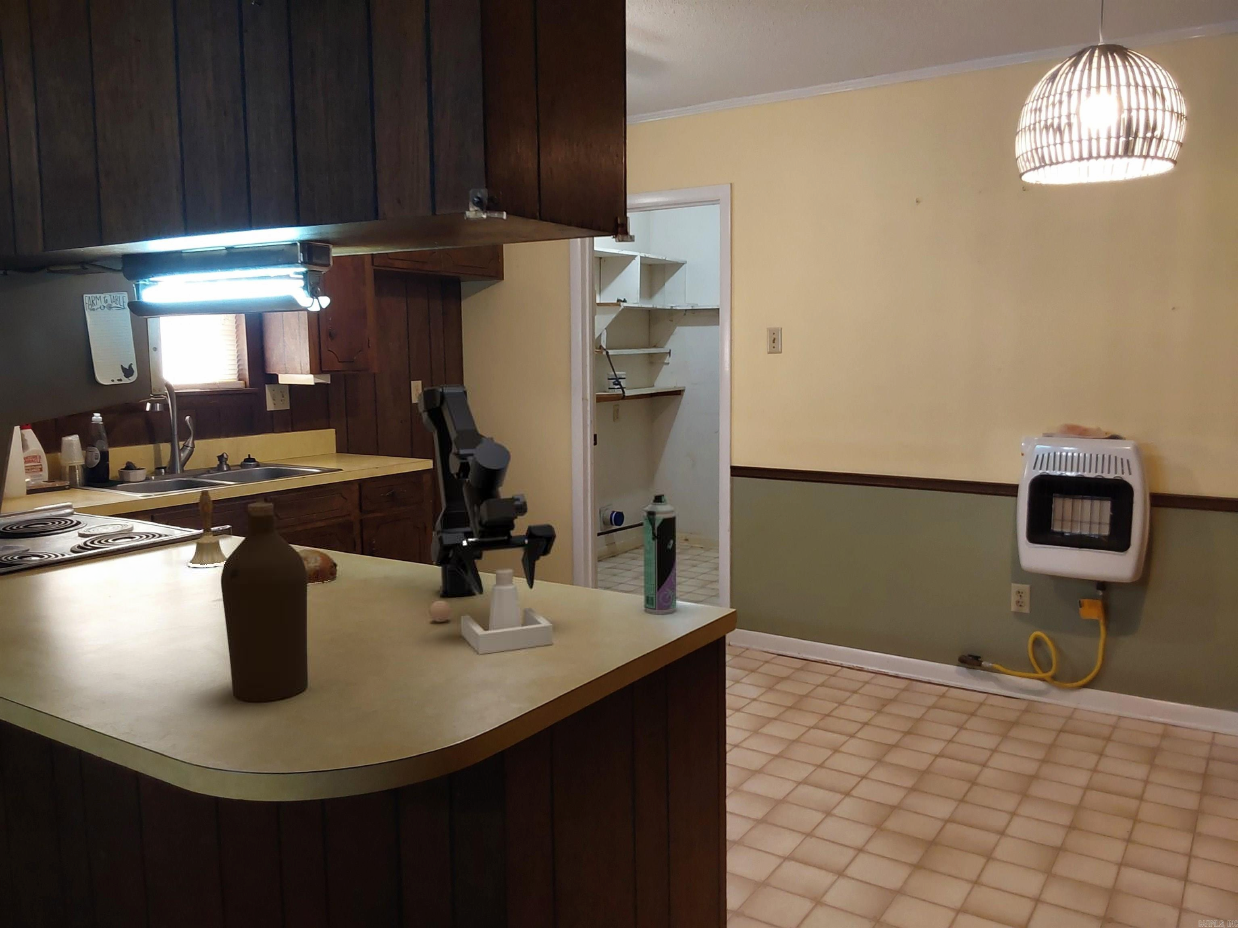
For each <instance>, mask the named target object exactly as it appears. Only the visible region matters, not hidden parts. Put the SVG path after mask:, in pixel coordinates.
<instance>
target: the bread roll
mask: <svg viewBox="0 0 1238 928" xmlns="http://www.w3.org/2000/svg"><path fill="white" fill-rule="evenodd" d="M297 552H298V553H299V554H300V556H301V557H302V559H303V562H304V564H305V567H306V571H307V584H308V583H315V582H324V581H328V580H332V579H334V578H335V579H336V576H337V575H338V574H337V573H338V568H337V567H338V564H337V562H335V559H333V558H332V557H331V556H330V555H328V554H327V553H325V552H323V551H320V550H316V549H308V548H307V549H301V550H299V551H297ZM335 579H334V580H335ZM332 581H333V580H332Z"/></svg>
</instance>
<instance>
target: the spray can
mask: <svg viewBox="0 0 1238 928" xmlns="http://www.w3.org/2000/svg"><path fill="white" fill-rule="evenodd" d="M643 511H644V512H643V514H642V515H643V591H644V592H643V593H644V594H643V600H644V601H643V602H644V603H643V608H644V612H646V613H647V614H652V615H668V614H672V613H675V612H676V611H677V513H676V508H675V507H673V506H671V505H670V504H669V502H668V501H667V500H666V499H665V494H664V493H660V494H655V495H654V496H653V499H652V501H651V502H650V504H649V505H648V506H646V507H644V508H643Z"/></svg>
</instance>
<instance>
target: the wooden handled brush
mask: <svg viewBox="0 0 1238 928" xmlns="http://www.w3.org/2000/svg"><path fill="white" fill-rule="evenodd" d="M198 509H199V513H200V516H201V519H202V534H203V535H202V537H200V538H198V539H197V540H196V546H195V551H194V554H193V557H192V559H190V561H189V562H190V563H192V564H200V565H205V564H206V565H207V564H214V563H221V562H224V561H226V560H227V559H228V557H226V555H225V554H224V553H223V550H222V549H221V544H220V539H219V538H218V537H216V536H214V535H213V533H212V531H213V530H212V523H211V518H212V515H213V514H212V513H213V501H212V498H211V496H210V493H209V490H207V489H204V490H203V489H202V490H201V492H200V496H199V500H198Z"/></svg>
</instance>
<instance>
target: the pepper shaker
mask: <svg viewBox="0 0 1238 928" xmlns="http://www.w3.org/2000/svg"><path fill="white" fill-rule="evenodd" d="M494 573H495V584H493V585H492V588H491V598H490V599H491V600H490V612H489V623H488V624H489V625H488V631H492V630H499V629H507V628H515V627H523V626H522V617H521V611H520V610H521V608H520V602H519V601H520V600H519V593H518V588H517V585H516V584H515V583H514V581H513V579H514V575H513V574H514V569H512V568H509V567H500V568H498V569H495V570H494Z"/></svg>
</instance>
